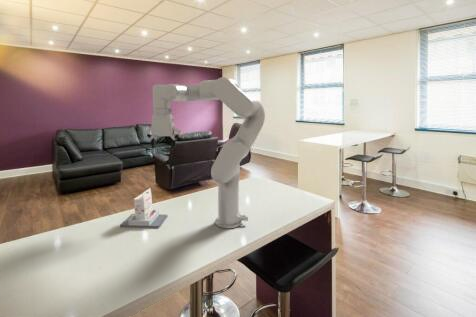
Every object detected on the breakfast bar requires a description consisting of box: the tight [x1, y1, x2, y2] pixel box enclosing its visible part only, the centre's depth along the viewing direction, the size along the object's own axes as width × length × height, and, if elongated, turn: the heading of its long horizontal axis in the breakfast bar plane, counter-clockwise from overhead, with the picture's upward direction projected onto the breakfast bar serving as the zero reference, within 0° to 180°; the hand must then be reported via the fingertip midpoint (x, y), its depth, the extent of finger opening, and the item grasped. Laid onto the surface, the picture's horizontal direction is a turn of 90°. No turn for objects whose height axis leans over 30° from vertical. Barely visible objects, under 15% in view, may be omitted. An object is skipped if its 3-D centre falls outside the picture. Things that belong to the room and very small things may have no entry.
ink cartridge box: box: [133, 187, 154, 220], centre depth 129 cm, size 9×5×15 cm, turn 172°
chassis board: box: [119, 209, 169, 229], centre depth 130 cm, size 18×13×4 cm
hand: (163, 147), depth 132 cm, fingers open, 9 cm apart
